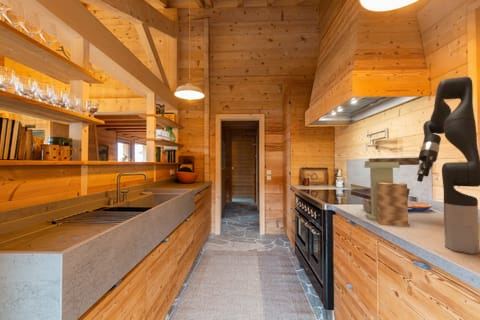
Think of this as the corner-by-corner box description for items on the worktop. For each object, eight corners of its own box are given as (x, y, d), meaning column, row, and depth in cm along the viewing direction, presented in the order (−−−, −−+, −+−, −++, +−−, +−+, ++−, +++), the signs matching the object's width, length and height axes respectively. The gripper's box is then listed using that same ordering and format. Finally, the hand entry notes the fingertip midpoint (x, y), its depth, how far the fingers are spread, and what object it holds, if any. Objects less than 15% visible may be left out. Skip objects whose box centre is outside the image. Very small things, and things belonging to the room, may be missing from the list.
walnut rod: (416, 164, 124) (416, 157, 124) (419, 164, 120) (419, 157, 120) (368, 165, 133) (368, 158, 133) (370, 165, 129) (370, 158, 129)
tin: (375, 214, 139) (375, 201, 139) (370, 214, 140) (370, 201, 140) (366, 209, 154) (366, 197, 154) (362, 209, 154) (361, 197, 154)
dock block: (403, 222, 120) (402, 182, 120) (409, 226, 112) (408, 184, 112) (376, 220, 125) (375, 182, 125) (380, 224, 116) (379, 183, 117)
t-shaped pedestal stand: (395, 218, 130) (394, 160, 130) (401, 222, 120) (399, 160, 121) (365, 216, 135) (364, 161, 136) (368, 219, 126) (367, 161, 127)
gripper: (443, 148, 110) (436, 176, 106) (432, 159, 122) (426, 185, 118) (425, 144, 114) (418, 171, 110) (416, 155, 126) (409, 180, 122)
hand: (422, 178), depth 114 cm, fingers open, 8 cm apart
